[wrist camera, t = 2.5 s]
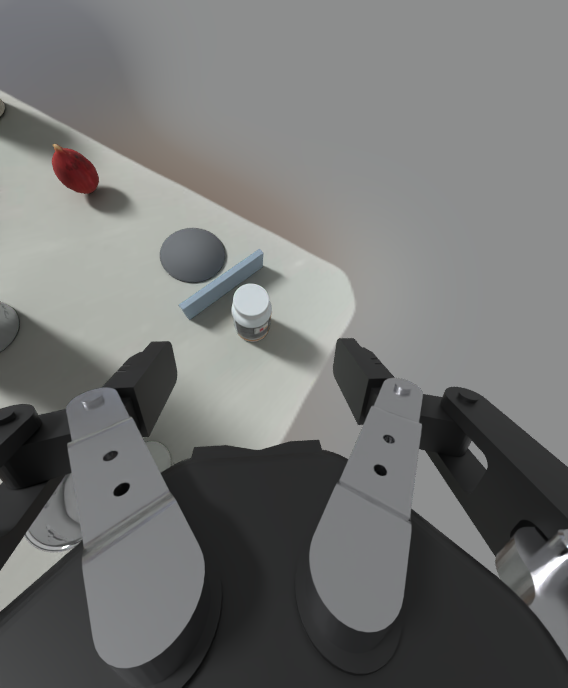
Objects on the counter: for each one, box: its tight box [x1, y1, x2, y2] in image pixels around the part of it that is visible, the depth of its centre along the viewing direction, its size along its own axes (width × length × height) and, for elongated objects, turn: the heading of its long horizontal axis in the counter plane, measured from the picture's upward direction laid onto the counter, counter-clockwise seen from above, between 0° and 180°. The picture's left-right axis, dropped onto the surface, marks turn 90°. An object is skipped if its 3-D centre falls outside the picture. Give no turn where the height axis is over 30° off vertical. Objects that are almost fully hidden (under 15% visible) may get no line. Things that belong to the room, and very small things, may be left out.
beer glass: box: [24, 441, 171, 552], centre depth 26 cm, size 7×7×15 cm
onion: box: [52, 144, 99, 194], centre depth 40 cm, size 6×6×8 cm
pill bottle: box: [232, 284, 272, 342], centre depth 36 cm, size 6×6×10 cm
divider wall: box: [179, 249, 263, 320], centre depth 40 cm, size 16×1×4 cm, turn 133°
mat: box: [160, 228, 225, 282], centre depth 43 cm, size 11×11×1 cm
